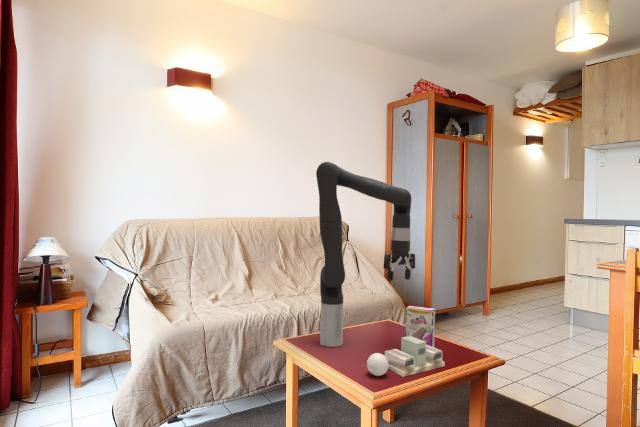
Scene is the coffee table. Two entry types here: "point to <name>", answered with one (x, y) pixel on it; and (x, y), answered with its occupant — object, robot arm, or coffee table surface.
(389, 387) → the coffee table surface
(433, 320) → the candy bar box
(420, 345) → the block
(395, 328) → the coffee table surface
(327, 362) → the coffee table surface
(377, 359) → the seamed sphere
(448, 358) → the coffee table surface
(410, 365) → the rail board
